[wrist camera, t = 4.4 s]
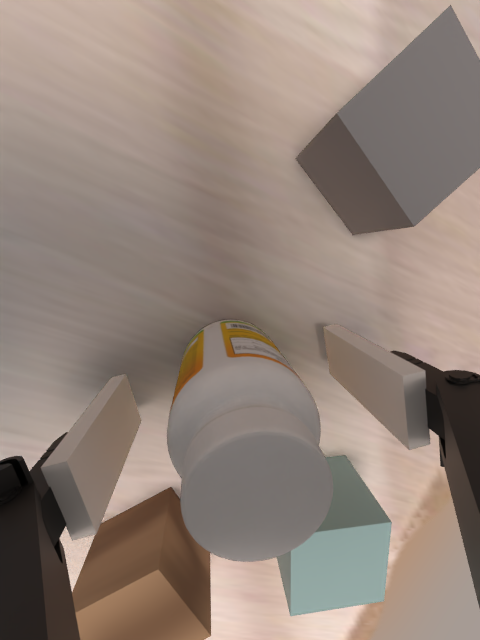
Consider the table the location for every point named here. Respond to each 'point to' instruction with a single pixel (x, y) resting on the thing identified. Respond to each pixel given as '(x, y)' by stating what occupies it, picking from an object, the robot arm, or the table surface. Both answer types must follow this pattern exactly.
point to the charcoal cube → (403, 134)
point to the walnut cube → (145, 577)
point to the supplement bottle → (246, 446)
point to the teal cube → (340, 550)
